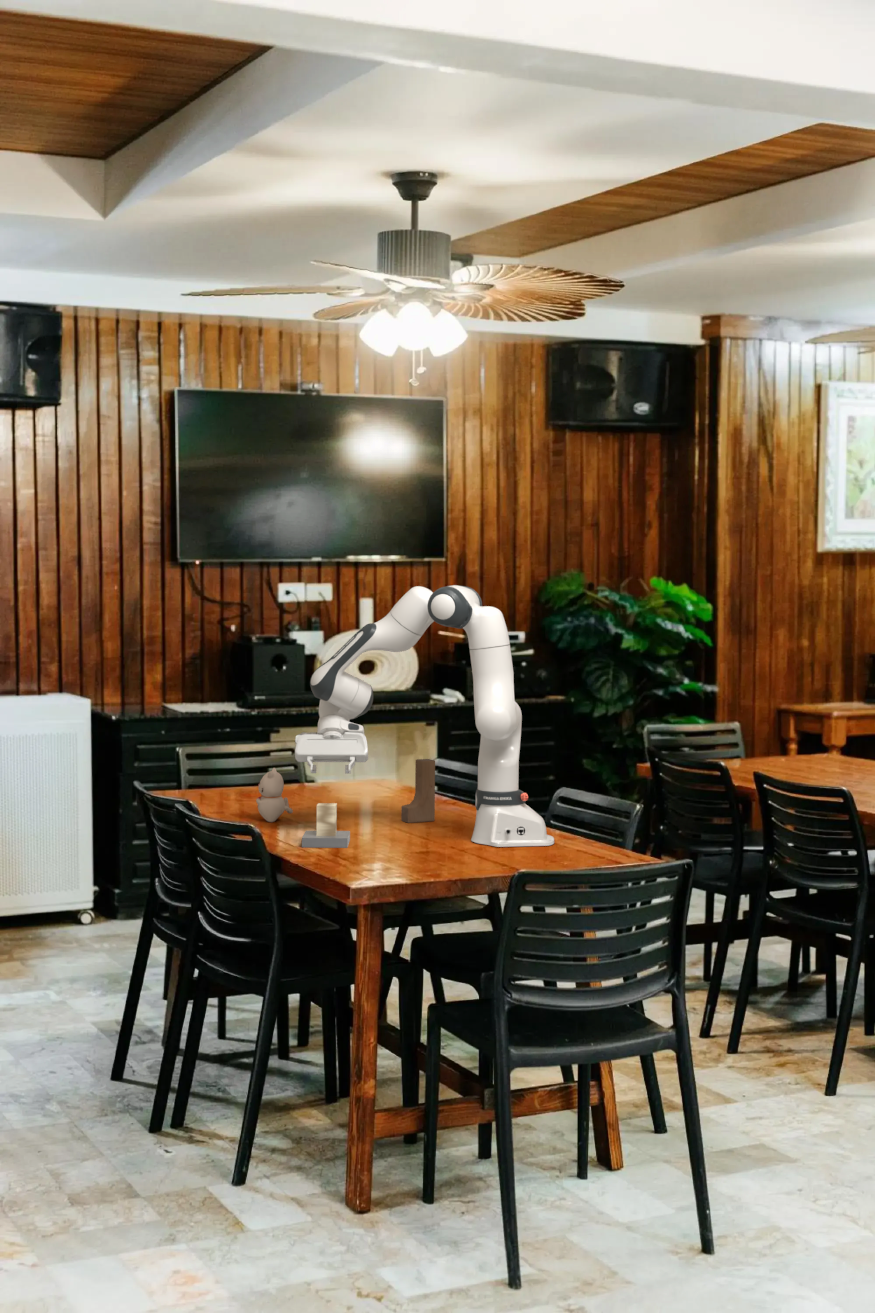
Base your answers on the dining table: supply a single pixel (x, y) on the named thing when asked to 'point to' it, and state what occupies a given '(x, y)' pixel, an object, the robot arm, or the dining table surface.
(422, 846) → the dining table surface
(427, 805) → the wooden block
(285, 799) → the toy
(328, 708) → the robot arm
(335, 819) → the maple post
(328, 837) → the base slab
